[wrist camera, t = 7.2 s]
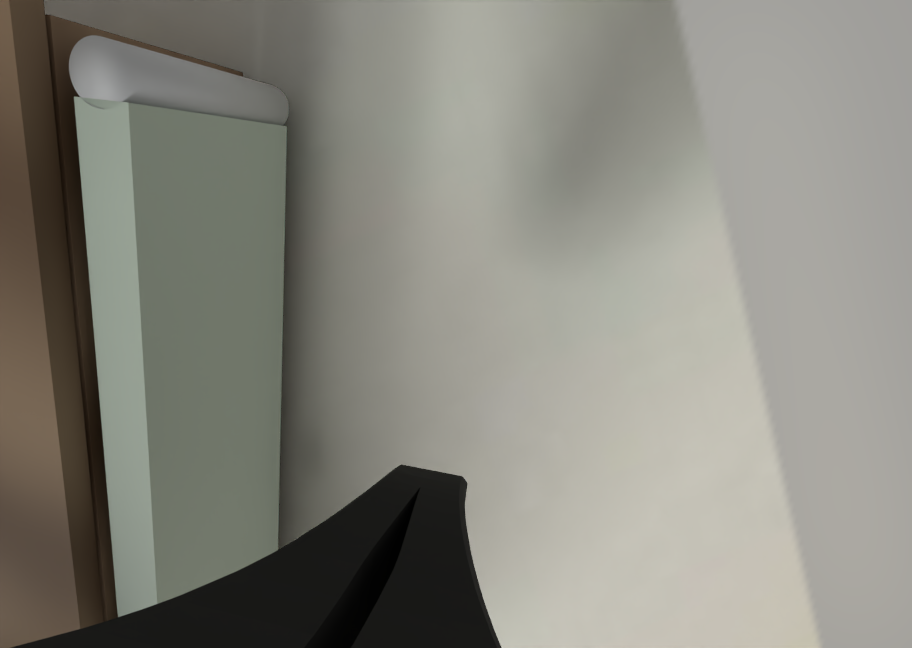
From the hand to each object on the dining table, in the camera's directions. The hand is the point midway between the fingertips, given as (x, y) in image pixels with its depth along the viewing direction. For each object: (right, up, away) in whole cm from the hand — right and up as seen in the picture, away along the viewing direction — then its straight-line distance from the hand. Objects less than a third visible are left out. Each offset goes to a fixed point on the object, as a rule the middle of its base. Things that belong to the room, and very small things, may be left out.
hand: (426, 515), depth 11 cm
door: (-5, +2, +6) cm, 8 cm away
